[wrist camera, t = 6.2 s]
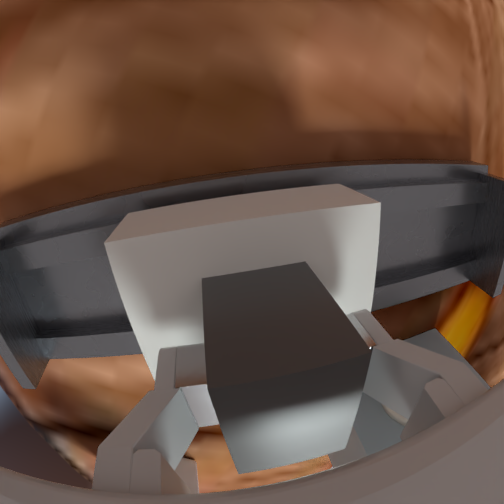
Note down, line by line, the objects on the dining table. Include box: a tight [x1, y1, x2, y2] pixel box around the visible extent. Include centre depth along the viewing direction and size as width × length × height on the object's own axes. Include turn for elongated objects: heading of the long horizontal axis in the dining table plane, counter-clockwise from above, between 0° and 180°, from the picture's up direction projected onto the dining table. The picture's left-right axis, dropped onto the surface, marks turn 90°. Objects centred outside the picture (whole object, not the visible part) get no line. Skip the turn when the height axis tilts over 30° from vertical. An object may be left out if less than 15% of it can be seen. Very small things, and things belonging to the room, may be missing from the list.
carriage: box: [104, 184, 381, 474], centre depth 9 cm, size 8×7×7 cm
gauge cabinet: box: [328, 328, 491, 468], centre depth 16 cm, size 10×9×10 cm
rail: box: [0, 160, 504, 389], centre depth 12 cm, size 28×8×4 cm, turn 96°
